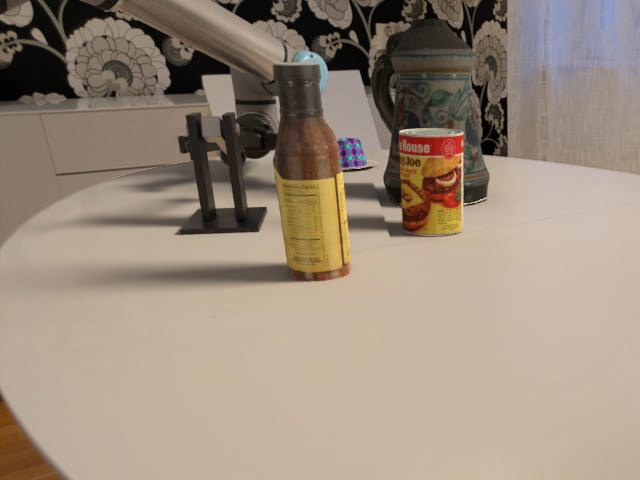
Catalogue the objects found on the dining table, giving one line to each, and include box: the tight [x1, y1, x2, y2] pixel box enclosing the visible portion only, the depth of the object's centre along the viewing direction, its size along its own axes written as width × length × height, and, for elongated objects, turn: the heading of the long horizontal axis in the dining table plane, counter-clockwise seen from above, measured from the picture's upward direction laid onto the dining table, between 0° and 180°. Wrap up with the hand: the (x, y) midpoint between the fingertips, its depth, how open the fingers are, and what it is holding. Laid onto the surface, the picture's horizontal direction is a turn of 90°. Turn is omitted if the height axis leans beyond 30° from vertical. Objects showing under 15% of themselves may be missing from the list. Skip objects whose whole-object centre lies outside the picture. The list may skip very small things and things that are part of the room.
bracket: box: [179, 111, 268, 236], centre depth 84 cm, size 12×9×14 cm
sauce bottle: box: [272, 62, 352, 282], centre depth 63 cm, size 6×6×20 cm
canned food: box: [399, 128, 464, 237], centre depth 84 cm, size 8×8×12 cm
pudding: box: [336, 137, 378, 169], centre depth 131 cm, size 12×12×5 cm
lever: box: [201, 115, 248, 168], centre depth 89 cm, size 17×4×4 cm, turn 12°
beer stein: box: [370, 18, 491, 204], centre depth 101 cm, size 16×19×25 cm
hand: (239, 150), depth 102 cm, fingers open, 13 cm apart
